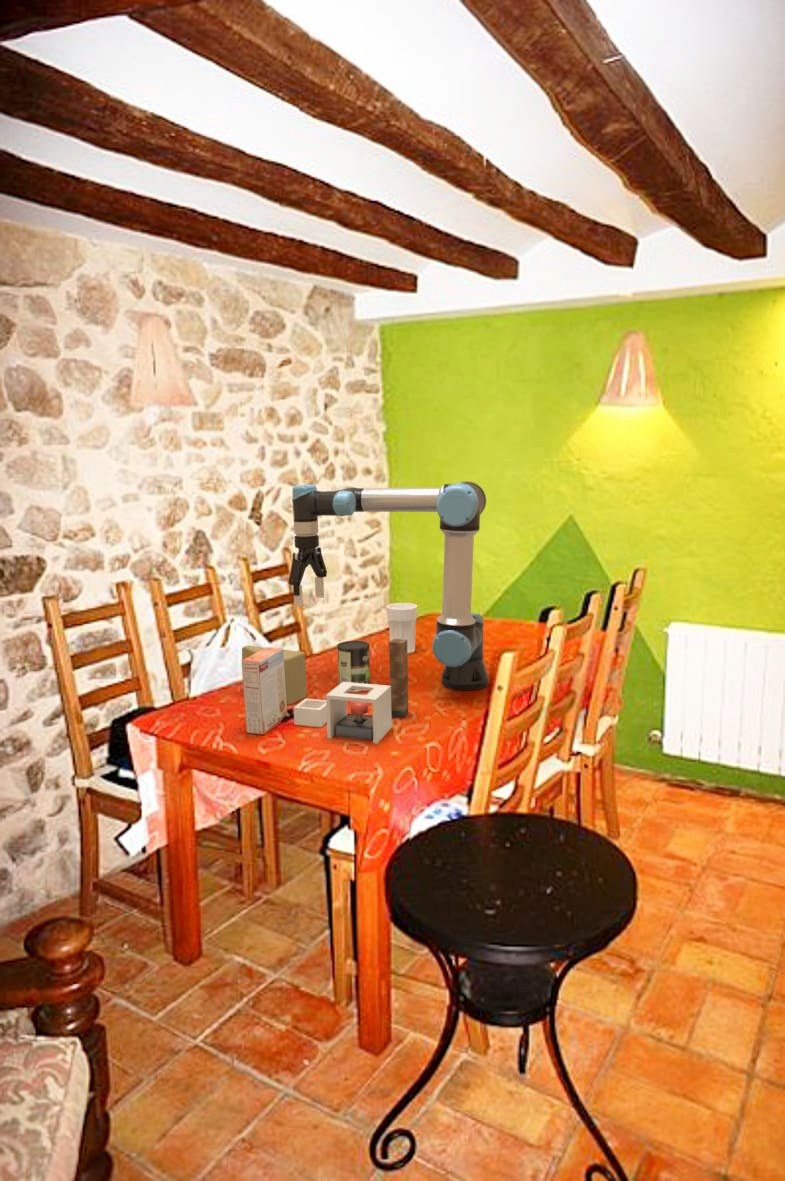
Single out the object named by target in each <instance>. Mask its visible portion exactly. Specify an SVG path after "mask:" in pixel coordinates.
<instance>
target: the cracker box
mask: <svg viewBox="0 0 785 1181" xmlns="http://www.w3.org/2000/svg"><path fill="white" fill-rule="evenodd" d="M263 648H264V649H262V650H260V651H258V652H257V653H255V654H253V655H251V656H249V657H247V658H246V659H244V660H242V659H241V671H242V673H241V676H242V675H243V676H242V690H243V689H244V690H243V698H244V699H243V700H244V701H243V702H244V714H245V716H244V717H245V729H246V734H251V735H252V734H253V735H261V736H265V735H267V733H269V732H271V731H272V730H273V729H274V728H276V727H277V726H278V725H280V724H281V723H282V722H283V721H282V720H283V718H284V717H285V716H286V715H287V716H288V707H287V706H288V705H287V704H286V687H285V671H284V654H283V650H284V648H281V647H270V646H267V647H263ZM281 721H282V722H281Z"/></svg>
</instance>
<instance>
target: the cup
mask: <svg viewBox="0 0 785 1181" xmlns="http://www.w3.org/2000/svg"><path fill="white" fill-rule="evenodd" d="M386 617H387V618H386V619H387V620H388V625H389V626H388V627H389V631H388V632H389V642H390V641H391V640H393V639H406V640H407V656H409V655H412V654H414V653H415V652H416V621H417V619H418V605H417V604H415V603H411V602H410V603H409V602H397V603H395V602H394V603H390V604H388V605H386Z"/></svg>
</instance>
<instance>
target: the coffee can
mask: <svg viewBox="0 0 785 1181" xmlns="http://www.w3.org/2000/svg"><path fill="white" fill-rule="evenodd" d="M336 648H337V665H338V666H337V669H338V670H337V672H338V685H339V684H341V683H342V682H352V683H364V684H371V670H370V669H371V668H370V666H371V664H370V663H371V662H370V657H371V656H370V643H369V642H367V641H363V640H348V641H342V642H339V643H338V644H337V645H336ZM365 691H366V690H354V689H352V690H351V691H349V692H348V693H358V692H365Z"/></svg>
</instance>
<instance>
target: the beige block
mask: <svg viewBox="0 0 785 1181" xmlns="http://www.w3.org/2000/svg"><path fill="white" fill-rule="evenodd" d="M264 648H265V647H262V646H255V645H245V646H242V648H241V661H242V660H244V659H246V658H247V657H249V656H251V655H253V654H255V653H257V652H258V651H260V650H262V649H264ZM283 654H284V671H285V687H286V704H287V706H290V705H293V704H294V703H297V702H301V701H303V700H304V699H307V696H308V688H307V687H308V686H307V685H308V684H307V668H306V667H307V664H306V663H307V660H306V653H305V652H304V651H298V650H297V651H296V650H290V649H283ZM241 676H242V677H243V675H242V674H241ZM242 690H243V691H244V689H243V688H242Z"/></svg>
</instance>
